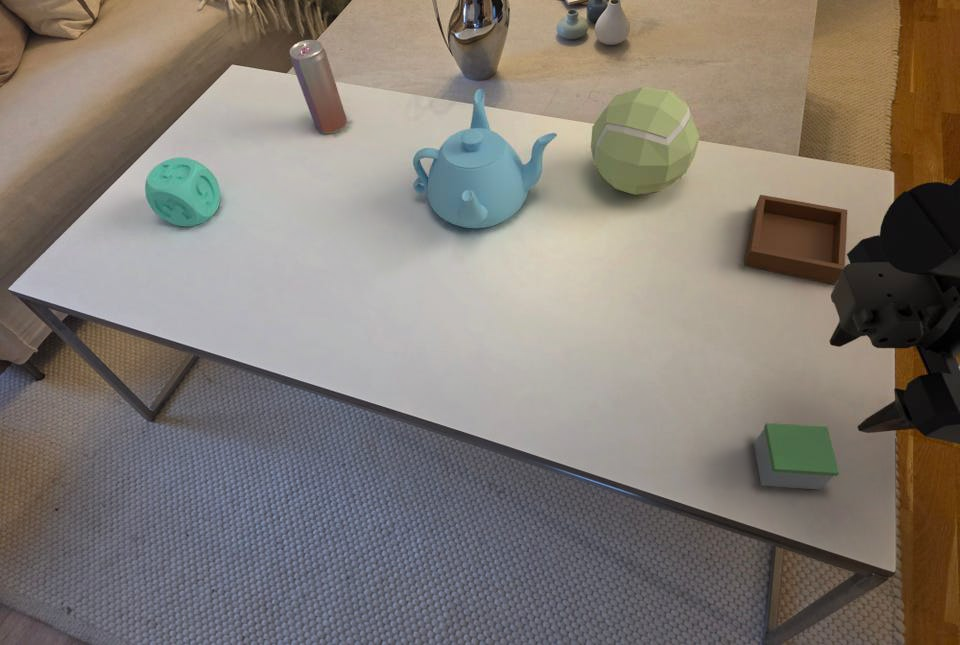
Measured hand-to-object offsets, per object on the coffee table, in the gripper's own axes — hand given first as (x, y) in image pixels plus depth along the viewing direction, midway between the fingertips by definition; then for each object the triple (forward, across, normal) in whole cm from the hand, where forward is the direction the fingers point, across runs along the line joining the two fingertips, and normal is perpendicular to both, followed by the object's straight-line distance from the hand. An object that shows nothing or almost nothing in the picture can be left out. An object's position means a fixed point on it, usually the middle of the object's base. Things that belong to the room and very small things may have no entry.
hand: (847, 385), depth 53 cm
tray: (+11, -33, +10) cm, 36 cm away
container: (+15, +1, +4) cm, 16 cm away
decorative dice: (+39, -39, -80) cm, 97 cm away
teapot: (+24, -42, -33) cm, 58 cm away
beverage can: (+32, -62, -63) cm, 94 cm away
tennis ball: (+17, -46, -10) cm, 50 cm away
